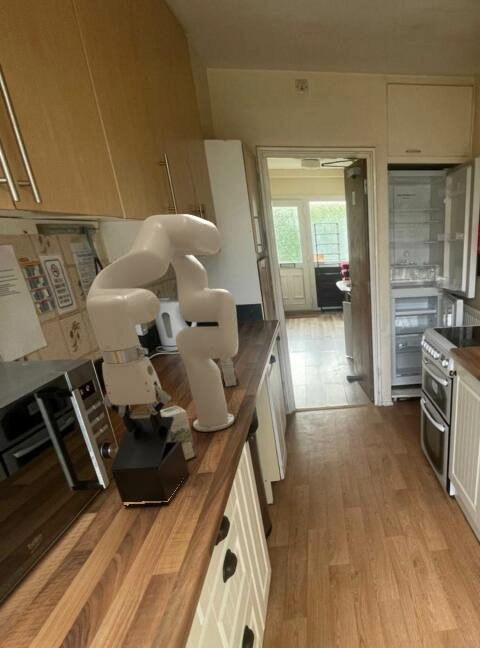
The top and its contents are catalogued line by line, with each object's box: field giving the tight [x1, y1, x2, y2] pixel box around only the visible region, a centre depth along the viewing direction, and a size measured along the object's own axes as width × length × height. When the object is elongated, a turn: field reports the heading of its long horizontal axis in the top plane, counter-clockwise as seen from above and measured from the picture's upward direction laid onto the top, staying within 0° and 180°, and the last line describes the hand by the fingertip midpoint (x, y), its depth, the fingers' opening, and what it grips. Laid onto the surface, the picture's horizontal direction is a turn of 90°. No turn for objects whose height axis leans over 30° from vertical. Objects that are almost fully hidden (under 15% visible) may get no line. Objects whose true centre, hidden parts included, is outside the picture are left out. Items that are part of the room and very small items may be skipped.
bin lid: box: [110, 411, 174, 472], centre depth 97 cm, size 14×10×5 cm
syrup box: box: [160, 405, 197, 461], centre depth 116 cm, size 6×6×14 cm
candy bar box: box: [218, 357, 238, 388], centre depth 173 cm, size 11×5×16 cm, turn 22°
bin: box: [111, 441, 190, 509], centre depth 103 cm, size 14×10×10 cm
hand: (145, 428), depth 100 cm, fingers closed on bin lid, 5 cm apart
